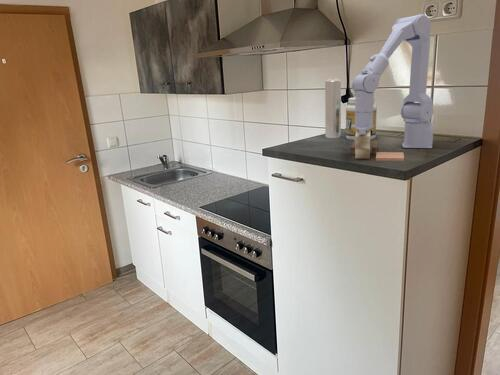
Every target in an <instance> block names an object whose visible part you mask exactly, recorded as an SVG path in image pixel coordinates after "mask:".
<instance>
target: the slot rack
mask: <svg viewBox="0 0 500 375" xmlns="http://www.w3.org/2000/svg"><path fill="white" fill-rule="evenodd" d="M378 142H379V141H378V140H373V141H372V144H371V151H370V156H371V155H373V156H376V153H377V152H378ZM350 155H354V156H355V140H353V142H352V144H351V146H350Z"/></svg>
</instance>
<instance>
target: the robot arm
mask: <svg viewBox="0 0 500 375" xmlns="http://www.w3.org/2000/svg"><path fill="white" fill-rule="evenodd" d="M431 24H432V21H431V19H430V18H429V17H428V15H427V14H425V13H420V14H417V15H412V16H407V17H400V18H398V19H397V20H396V22H394V24H393V25H392V27H391V32H390V34H389V36H388V38H387V39H386V41H385V42H384V44H383V47H382V48H381V50H380V51H379V53H376V54H373V55H372V56H370V58H369V61H368V63H366V65H365V67H364V69H362V71H361V73H360V74H357V75H356V76H355V77H354V79H353V81H352V83H351V88H352V90H353V92H354V97H355V125H352V126H351V128H355V129H358V130H359V135H360V134H366V130H368V129H371V128H373V102H374V98H375V97H374V96H375V91H376V90H377V89H378V88H379V84H380V83H379V82H380V78H381V76H382V75H383V74H384V73H385V71H386V69H387V68H388V66H389V64H390V63H389V59H390V58H391V57H392V55H393V53H395V51H396V50H397V49H398V47H399V46H400V44H401V43H403V41H404V42H406V43H407V44H409V45H410V46H411V48H412V49H411V58H410V59H411V60H410V61H411V62H410V63H411V64H410V76H409V77H410V78H409V90H408V91H409V92H408V94H407V95H406V96H405V97H404V98H403V100H402V101H403V103H402V105H401V108H400V115H401V118H402V119H403V122H404V133H403V134H404V137H403V139H404V140H403V142H402V148H403V149H432V148H433V142H434V138H433V137H434V122H433V121H430V120H431V119H432V117H433V115H434V107H433V99H432V98H431V97H430V96H429V95H428V94H427V85H428V72H429V61H430V59H429V58H430V48H431ZM374 103H375V102H374ZM372 132H373V131H372V130H371V131H370V137H371V135H372ZM355 134H356V132H355Z"/></svg>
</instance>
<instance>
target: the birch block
mask: <svg viewBox="0 0 500 375" xmlns="http://www.w3.org/2000/svg"><path fill="white" fill-rule="evenodd" d="M370 131H371V130H366V134H360V135H359V131H356V134H355V140H354V141H355V155H354V158H355V159H367V160H368V159H370V158H371V157H370V156H371V140H370Z"/></svg>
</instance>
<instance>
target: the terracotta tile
mask: <svg viewBox="0 0 500 375" xmlns="http://www.w3.org/2000/svg"><path fill="white" fill-rule="evenodd" d="M377 161H378V162H380V161H381V162H404V161H405V155H404V152H403V151H402V152H400V151H398V152H397V151H395V152H394V151H393V152H392V151H390V152H389V151H388V152H387V151H377V153H376V155H375V162H377Z"/></svg>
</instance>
